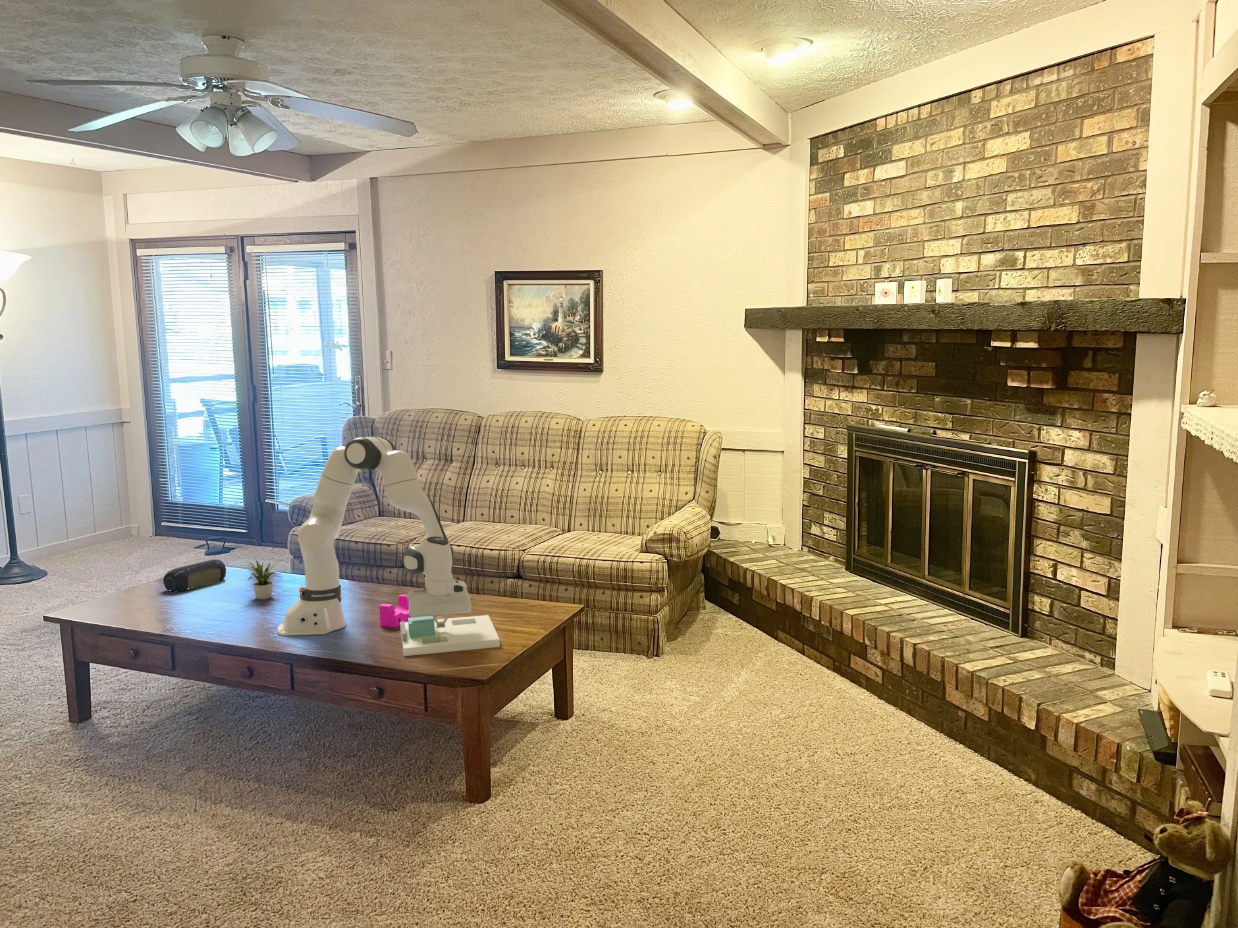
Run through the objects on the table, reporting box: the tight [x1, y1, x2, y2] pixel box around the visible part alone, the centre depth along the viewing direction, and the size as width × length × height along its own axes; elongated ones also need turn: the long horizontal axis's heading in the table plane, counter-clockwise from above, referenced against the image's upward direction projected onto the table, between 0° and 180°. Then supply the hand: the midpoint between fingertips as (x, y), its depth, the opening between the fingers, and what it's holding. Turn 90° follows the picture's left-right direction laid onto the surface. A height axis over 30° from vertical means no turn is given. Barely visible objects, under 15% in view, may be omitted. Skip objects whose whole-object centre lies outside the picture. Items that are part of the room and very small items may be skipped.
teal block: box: [407, 616, 435, 638], centre depth 303 cm, size 8×7×4 cm
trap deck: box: [399, 614, 501, 657], centre depth 306 cm, size 30×28×5 cm
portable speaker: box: [162, 559, 227, 592], centre depth 374 cm, size 25×10×10 cm, turn 152°
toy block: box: [378, 594, 412, 628], centre depth 326 cm, size 15×6×8 cm, turn 163°
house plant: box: [242, 558, 280, 600], centre depth 355 cm, size 14×14×16 cm
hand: (440, 627), depth 305 cm, fingers closed
